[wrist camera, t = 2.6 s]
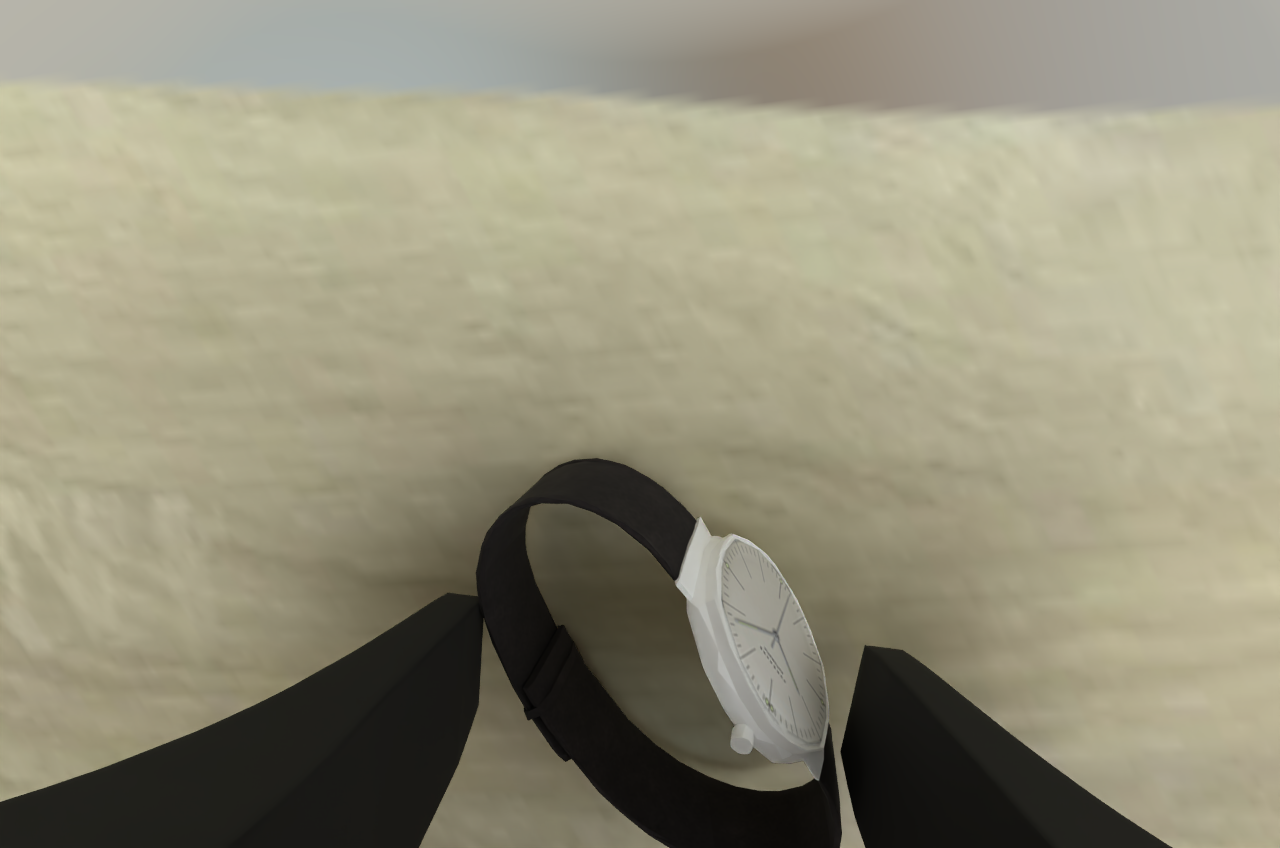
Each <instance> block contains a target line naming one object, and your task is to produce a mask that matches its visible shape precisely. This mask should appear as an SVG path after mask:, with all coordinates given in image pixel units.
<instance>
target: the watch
mask: <svg viewBox="0 0 1280 848" xmlns="http://www.w3.org/2000/svg"><path fill="white" fill-rule="evenodd" d="M541 503H550V504H570V505H573V506H576V507H579V508H582V509H585V510H588V511H591V512H594V513H596V514H597V515H599V516H601V517H603V518H605V519H607V520H609V521H611V522H613V523H615V524H617V525H618V526H619V527H621V528H622V529H623V530H624V531H626V532H627V533H628V534H629V535H631V536H632V537H633V538H634V539H636V540H637V541H638V542H639V543H640V544H642V545H643V546H644V547H645V548H647V549H648V550H649V551H650V552H651V553H652V555H653V556H654V557H655V558H656V559H657V561H658V562H659V563H660V564H661V565H662V567H663V568H664V569H665V570H666V572H667V573H668V574H669V575H670V576H671V578H672V579H673V580H674V581H675V584H676V586H677V587H678V589H679V590H680V591H681V592H682V593H683V594H684V596H685V597H686V598H687V614H688V618H689V621H690V625H691V628H692V632H693V635H694V639H695V642H696V646H697V649H698V653H699V656H700V660H701V663H702V667H703V669H704V671H705V673H706V675H707V677H708V679H709V681H710V683H711V685H712V687H713V689H714V691H715V693H716V695H717V697H718V699H719V701H720V703H721V705H722V707H723V709H724V711H725V712H726V714H727V715H728V717H729V718H730V720H731V721H732V723H733V724H734V727H733V728H732V734H731V741H730V746H731V748H732V749H733V750H735V751H736V752H737V753H738V754H749V753H751V751H752V749H753V747H754V748H755V749H756V750H757V751H759V752H760V753H761V754H762V755H764V756H765V757H766V758H767V759H768V760H770V761H771V762H772V763H788V764H791V763H795V762H799V761H804V763H805V764H806V766H807V767H808V769H809V771H810V772H811V774H812V775H813V777H814V779H813V780H812V781H810V782H808V783H806V784H805V785H803V786H800V787H795V788H791V789H787V790H782V791H757V790H752V789H746V788H741V787H736V786H733V785H730V784H727V783H724V782H722V781H719V780H716V779H713V778H710V777H708V776H706V775H704V774H702V773H700V772H698V771H696V770H694V769H693V768H691V767H689V766H687V765H685V764H683V763H681V762H679V761H678V760H676V759H675V758H674V757H672V756H671V755H669V754H668V753H667V752H665V751H664V750H663V749H661V748H660V747H658V746H657V745H656V744H654V743H653V742H652V741H651V740H650V739H649V738H648V737H647V736H646V735H645V734H644V733H643V732H641V731H640V730H639V729H638V728H637V727H636V726H635V725H634V724H633V723H632V722H631V721H629V720H628V718H627V717H626V716H625V715H624V713H623V712H622V711H621V709H620V708H619V707H618V706H617V704H616V703H615V702H614V701H613V699H612V698H611V697H610V696H609V694H608V693H607V692H606V690H605V689H604V688H603V687H602V685H601V684H600V683H599V682H598V680H597V679H596V678H595V676H594V675H593V674H592V673H591V671H590V670H589V669H588V668H587V666H586V665H585V664H584V661H583V659H582V657H581V655H580V653H579V652H578V650H577V648H576V646H575V643H574V641H572V639H571V638H570V636H569V634H568V632H567V631H566V629H565V627H564V625H561V626H558V628H557V627H556V625H555V622H554V620H553V618H552V616H551V614H550V612H549V610H548V608H547V606H546V604H545V602H544V599H543V597H542V595H541V593H540V591H539V589H538V587H537V585H536V583H535V580H534V576H533V573H532V570H531V566H530V563H529V560H528V556H527V551H526V545H525V528H526V522H527V518H528V514H529V510H530V507H531V506H534V505H537V504H541ZM476 580H477V592H478V600H479V605H480V608H481V611H482V614H483V617H484V620H485V623H486V626H487V629H488V632H489V635H490V638H491V641H492V644H493V646H494V648H495V650H496V652H497V655H498V657H499V659H500V661H501V663H502V665H503V667H504V670H505V672H506V674H507V676H508V678H509V680H510V682H511V685H512V687H513V688H514V690H515V692H516V694H517V695H518V697H519V699H520V700H521V702H522V704H523V706H524V712H525V715H526V717H527V720H531V719H532V720H533V721H534V723H535V724H536V726H537V727H538V729H539V730H540V731H541V733H542V734H543V736H544V737H545V739H546V740H547V742H548V743H549V745H550V746H551V748H552V749H553V750H554V751H555V752H556V754H557V755H558V756H559V757H560V758H562V759H563V760H564V761H565V762H566V761H568V760H570V759H572V760H573V761H574V762H575V763H576V765H577V766H578V767H579V768H580V769H581V771H582V772H583V773H584V774H585V776H586V777H587V778H588V779H589V781H590V782H591V783H592V784H593V786H594V787H595V788H596V789H597V790H598V792H599V793H600V794H601V795H603V796H604V797H605V798H606V799H607V800H608V801H609V802H610V803H611V804H612V805H613V806H614V807H615V808H616V809H618V810H619V811H620V812H621V813H622V814H624V815H625V816H626V817H627V818H628V819H630V820H631V821H632V822H633V823H634V824H636V825H637V826H638V827H639V828H641V829H642V830H643V831H644V832H645V833H647V834H648V835H650V836H651V837H653V838H654V839H656V840H658V841H659V842H661V843H663V844H664V845H666V846H667V847H669V848H840V843H841V836H842V829H841V816H840V798H839V790H838V782H837V774H836V766H835V758H834V750H833V742H832V733H831V727H830V724H829V701H828V694H827V687H826V679H825V672H824V666H823V663H822V660H821V657H820V655H819V652H818V649H817V646H816V643H815V641H814V638H813V635H812V632H811V630H810V627H809V625H808V623H807V620H806V618H805V616H804V614H803V611H802V609H801V607H800V605H799V602H798V600H797V598H796V596H795V595H794V593H793V592H792V590H791V588H790V587H789V585H788V584H787V582H786V580H785V579H784V577H783V576H782V574H781V572H780V571H779V569H778V568H777V566H776V565H775V564H774V562H773V561H772V560H771V559H770V557H769V556H768V555H767V554H766V553H765V552H764V551H762V550H761V549H760V548H759V547H757V546H756V545H755V544H753V543H752V542H751V541H750V540H747V539H745V538H742V537H740V536H738V535H735V534H731V533H730V534H729V535H727V536H725V537H723V538H722V537H720V536H711V534H710V533H709V531H708V529H707V527H706V526H705V524H704V522H703V520H702V518H701V517H699V518H697V519H695V518H694V517H693V516H692V515H691V514H690V513H689V512H688V511H687V509H686V508H685V507H684V506H683V505H682V504H681V503H680V502H678V501H677V500H676V499H675V498H674V497H673V496H672V495H671V494H670V493H669V492H667V491H666V490H665V489H664V488H663V487H661V486H660V485H659V484H657V483H656V482H654V481H653V480H651V479H650V478H648V477H647V476H645V475H643V474H641V473H640V472H638V471H636V470H634V469H632V468H630V467H628V466H626V465H624V464H620V463H616V462H613V461H609V460H603V459H598V458H594V459H579V460H572V461H569V462H566V463H563V464H561V465H558V466H557V467H555V468H554V469H552V470H551V471H549V472H548V473H546V474H544V476H543V477H542V478H541V479H540V480H539V481H538V482H537V483H536V484H535V485H534V486H533V487H531V488H530V489H529V490H528V491H527V492H526V493H525V494H524V495H523V496H522V497H521V498H520V499H518V500H517V501H516V502H515V503H514V504H513V505H512V506H510V507H509V508H508V509H507V510H506V511H504V512H503V513H502V514H501V515H500V516H499V517H498V519H497V520H496V521H495V523H494V524H493V525H492V526H491V528H490V529H489V530H488V532H487V533H486V536H485V538H484V541H483V543H482V546H481V551H480V555H479V560H478V565H477V570H476Z"/></svg>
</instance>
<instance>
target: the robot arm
mask: <svg viewBox="0 0 1280 848" xmlns="http://www.w3.org/2000/svg"><path fill="white" fill-rule="evenodd" d="M483 619H484V617H483V614H482V611H481V608H480V605H479V600H478V596H470V595H462V594H454V593H447V594H445V595H443V596H441V597H440V598H438V599H436V600H435V601H433V602H432V603H430V604H428V605H427V606H425V607H424V608H422V609H421V610H419V611H418V612H416V613H414V614H413V615H411V616H410V617H408V618H407V619H405V620H404V621H402V622H400V623H399V624H397V625H396V626H394V627H393V628H391V629H389V630H388V631H386V632H385V633H383V634H381V635H380V636H378V637H376V638H375V639H373V640H372V641H370V642H368V643H367V644H365V645H364V646H362V647H360V648H359V649H357V650H356V651H354V652H352V653H350V654H349V655H347V656H345V657H343V658H341V659H340V660H338V661H336V662H334V663H333V664H331V665H329V666H327V667H325V668H324V669H322V670H320V671H318V672H317V673H315V674H313V675H311V676H309V677H308V678H306V679H304V680H302V681H301V682H299V683H297V684H295V685H293V686H292V687H290V688H288V689H286V690H284V691H282V692H280V693H278V694H276V695H274V696H272V697H270V698H268V699H266V700H264V701H262V702H260V703H258V704H256V705H254V706H252V707H249V708H247V709H245V710H243V711H241V712H238V713H236V714H234V715H232V716H230V717H228V718H225V719H223V720H221V721H219V722H217V723H215V724H212V725H210V726H208V727H205V728H203V729H201V730H198V731H196V732H194V733H191V734H189V735H186V736H183V737H181V738H178V739H176V740H173V741H171V742H168V743H166V744H163V745H161V746H158V747H155V748H153V749H150V750H148V751H145V752H143V753H140V754H138V755H135V756H133V757H130V758H127V759H125V760H122V761H120V762H117V763H115V764H112V765H110V766H107V767H104V768H101V769H98V770H96V771H93V772H90V773H87V774H84V775H81V776H78V777H75V778H72V779H69V780H67V781H64V782H61V783H58V784H55V785H52V786H49V787H46V788H43V789H40V790H37V791H34V792H30V793H27V794H24V795H21V796H18V797H15V798H11V799H8V800H5V801H2V802H0V848H419V846H420V844H421V842H422V840H423V838H424V836H425V834H426V831H427V829H428V827H429V825H430V823H431V821H432V819H433V817H434V815H435V813H436V811H437V809H438V806H439V804H440V802H441V800H442V798H443V796H444V794H445V792H446V790H447V787H448V785H449V783H450V781H451V779H452V777H453V775H454V773H455V770H456V768H457V766H458V764H459V761H460V758H461V755H462V752H463V749H464V747H465V744H466V741H467V738H468V735H469V732H470V729H471V726H472V723H473V720H474V717H475V714H476V711H477V708H478V705H479V689H480V671H481V654H482V637H483ZM840 752H841V757H842V761H843V766H844V771H845V776H846V781H847V785H848V790H849V794H850V798H851V802H852V807H853V811H854V815H855V819H856V822H857V825H858V828H859V831H860V833H861V836H862V839H863V842H864V845H865V848H1172V847H1170V846H1169V845H1167V844H1166V843H1164V842H1162V841H1161V840H1159V839H1158V838H1156V837H1155V836H1153V835H1152V834H1150V833H1149V832H1147V831H1145V830H1144V829H1142V828H1141V827H1139V826H1138V825H1136V824H1135V823H1133V822H1132V821H1130V820H1128V819H1127V818H1125V817H1124V816H1122V815H1121V814H1120V813H1118V812H1117V811H1115V810H1114V809H1112V808H1111V807H1109V806H1108V805H1106V804H1105V803H1103V802H1102V801H1101V800H1099V799H1098V798H1096V797H1095V796H1093V795H1092V794H1091V793H1089V792H1088V791H1087V790H1085V789H1084V788H1082V787H1081V786H1080V785H1078V784H1077V783H1075V782H1074V781H1073V780H1071V779H1070V778H1069V777H1067V776H1066V775H1064V774H1063V773H1062V772H1060V771H1059V770H1058V769H1056V768H1055V767H1053V766H1052V765H1051V764H1049V763H1048V762H1047V761H1045V760H1044V759H1043V758H1041V757H1040V756H1039V755H1037V754H1036V753H1035V752H1033V751H1032V750H1031V749H1030V748H1028V747H1027V746H1026V745H1024V744H1023V743H1022V742H1020V741H1019V740H1018V739H1017V738H1015V737H1014V736H1013V735H1011V734H1010V733H1009V732H1008V731H1006V730H1005V729H1004V728H1002V727H1001V726H1000V725H999V724H997V723H996V722H995V721H994V720H992V719H991V718H990V717H989V716H987V715H986V714H985V713H984V712H982V711H981V710H980V709H979V708H977V707H976V706H975V705H974V704H972V703H971V702H970V701H969V700H967V699H966V698H965V697H964V696H962V695H961V694H960V693H959V692H957V691H956V690H955V689H954V688H952V687H951V686H950V685H949V684H947V683H946V682H945V681H944V680H942V679H941V678H940V677H939V676H937V675H936V674H935V673H934V672H932V671H931V670H930V669H928V668H927V667H926V666H925V665H923V664H922V663H921V662H919V661H918V660H916V659H915V658H914V657H912V656H911V655H909V654H908V653H906V652H905V651H903V650H899V649H891V648H883V647H875V646H867V645H865V646H864V651H863V655H862V659H861V664H860V668H859V672H858V677H857V681H856V686H855V690H854V694H853V699H852V703H851V708H850V712H849V716H848V721H847V725H846V730H845V734H844V738H843V743H842V747H841V751H840Z"/></svg>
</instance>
